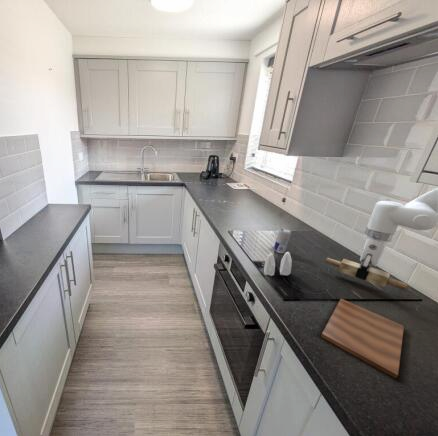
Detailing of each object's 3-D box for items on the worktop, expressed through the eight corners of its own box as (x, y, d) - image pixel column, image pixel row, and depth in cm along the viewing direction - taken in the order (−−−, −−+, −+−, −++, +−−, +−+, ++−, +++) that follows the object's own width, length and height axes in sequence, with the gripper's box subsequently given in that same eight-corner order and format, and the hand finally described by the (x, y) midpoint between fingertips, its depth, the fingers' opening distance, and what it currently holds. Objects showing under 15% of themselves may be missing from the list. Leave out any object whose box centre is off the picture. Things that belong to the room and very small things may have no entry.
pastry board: (339, 302, 84) (340, 298, 83) (401, 330, 73) (404, 326, 72) (320, 338, 69) (322, 333, 68) (395, 380, 58) (398, 375, 57)
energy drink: (275, 247, 121) (281, 227, 116) (286, 251, 117) (292, 230, 113) (271, 251, 118) (277, 229, 113) (282, 255, 114) (289, 233, 109)
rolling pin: (323, 266, 99) (326, 257, 97) (326, 262, 102) (329, 253, 100) (403, 294, 82) (408, 284, 80) (404, 289, 85) (409, 279, 83)
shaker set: (287, 272, 101) (294, 249, 96) (293, 277, 97) (300, 255, 93) (260, 270, 101) (265, 248, 97) (264, 276, 97) (270, 253, 93)
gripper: (390, 244, 77) (370, 289, 84) (394, 231, 88) (377, 272, 94) (361, 237, 82) (344, 279, 89) (368, 225, 93) (353, 264, 99)
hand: (361, 275), depth 91 cm, fingers closed on rolling pin, 4 cm apart
